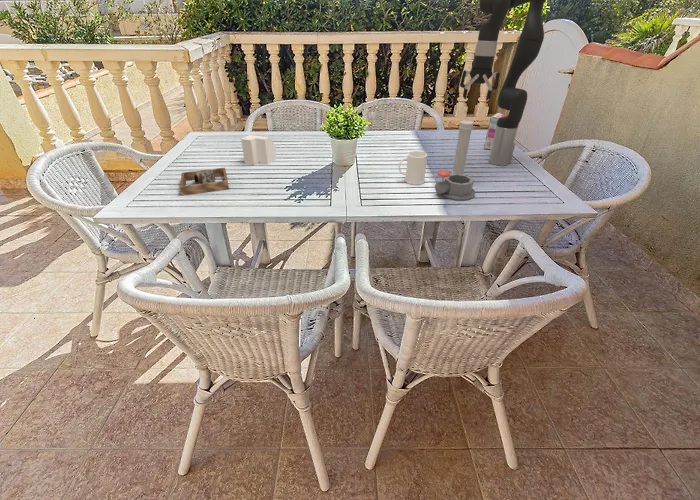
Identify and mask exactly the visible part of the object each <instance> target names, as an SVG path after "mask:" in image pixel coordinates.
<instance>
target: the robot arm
mask: <svg viewBox="0 0 700 500" xmlns="http://www.w3.org/2000/svg"><path fill="white" fill-rule="evenodd" d="M545 1H546V0H480V1H479V9H480V11H481V13H483V14H485V15H491V16H490V18H489V20H488V21H484V22H482V23H481V24H480V27H479V32H478V37H477V42H476V44H475V50H474V56H473V60H472V66H471V70H466V69H463V71H462V74H461V79H460V83H459V86H460V88H463V92H462V98H463V99H464V100H467V97H468V91H469V87H471V85H472V84H473V83H474V84H482V85H484V84H486V87H487V88H488V89H487V93H486V97H485V101H486V102H487V101H489V100H491V97H492V92H493V91H495V90H497V89H498V86H499V82H500V75H501V74H500V72H499V71H496V72H493V67H494V61H495V58H496V54H497V53H496V52H497V45H498V41H499V35H500V29H501V27H502V25H503V23H504V20H505V18H506V16H507V14H508V13H509V12H508V11H509V9H513V8H515V7H519V6H523V5H525V4H528V3H529V6H528V10H527V13H526V14H527V15H526V16H525V21H524V24H523V27H522V29H521V33H520V36H519V38H518V40H517V41H518V42H517V45H516V48H515V51H514V53H513V56H512V57H513V59H512V61H511V65H510V66H509V69H508V71H507V75H506V77H505V79H504V82H503V84H502V86H501V89H500V92H499V94H498V96H497V97H498V98H497V106H498V108H500V109H502V110H505V111H509V112H508V115H506V117H502V118H499V119H498V121H497V125H496V129H495V134H494V139H493V143H492V148H491V150H490V152H489V158H488V162H489V164H491V165H496V166H503V167H504V166H507V165H509V164H511V162H512V158H513V155H514V150H515V147H516V143H515V140H516V136H517V132H518V128H519V125H520V122H521V120H522V117H523V115H524V111H525V108H526V105H527V101H528V92H527V90H525V89H522V88H519V87H518V88H517V84H518V82H519V79H520V77H521V75H523V74H524V72H525V71H526V70H527V69H528V68H529V67H530V66H531V65H532V63H533V62H535V60H536V58H537V57H538V55H539V53H540V51H541V48H542V45H543V42H544V39H545V38H544V37H545V29H544V24H543V17H542V15H543V13H542V12H543V8H544V5H545V4H544V3H545ZM468 76H470V79H469V80H468V82H466V84H465V80H466V77H468ZM492 77H493V79H494V82H493V83H494V84H493V85H491V83H490V81H489V80H490V78H492Z"/></svg>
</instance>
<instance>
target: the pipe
mask: <svg viewBox="0 0 700 500" xmlns="http://www.w3.org/2000/svg"><path fill="white" fill-rule="evenodd" d="M460 108H461V109H462V110H463V112H464V113H465V115H466V117H468V114H467V112H466V110H465V109H464V108H463V107H462V106H460ZM473 126H474V121H472V120H468V119H466V120H465V119H464V120H461V121H460V122H459V126H458V129H459V130H458V131H459V132H458V137H457V143H456V149H455V155H454V160H453V167H452V171H450V175H451V174H462V175H465V167H466V162H467V161H466V160H467V157H468V153H469V152H468V150H469V146H470V141H471V133H472V130H473V129H474V127H473Z"/></svg>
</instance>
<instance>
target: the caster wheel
mask: <svg viewBox="0 0 700 500" xmlns="http://www.w3.org/2000/svg"><path fill="white" fill-rule="evenodd" d="M207 170H208V169H207ZM196 174H197V175H195V176H194V179H195V180H194V182H195V183H198V184H203V183H211V182H216V181H215V180H216V177H215V175H214V173H213V171H212V170H208V171H203V172H196Z"/></svg>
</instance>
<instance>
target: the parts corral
mask: <svg viewBox="0 0 700 500" xmlns="http://www.w3.org/2000/svg"><path fill="white" fill-rule="evenodd" d="M208 170H212V171H213V173H214V175H215V178H219V177H223V178H224V180H220V181H215V182H211V183H203V184H199V183H197V184H191V185H189V184H188V185H187V181H195V179H194V176H195V175H197V174H196V172H203V171H208ZM180 173H181V175H180V185H179V186H180V192H181V194H182V196H188V195H189V196H190V195H196V194H204V193H210V192H211V193H212V192H217V191H226V190H230V187H229V182H228V181H229V180H228V175H227V170H226V167H219V168H208V169H202V170H192V171H184V172H180Z"/></svg>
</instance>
